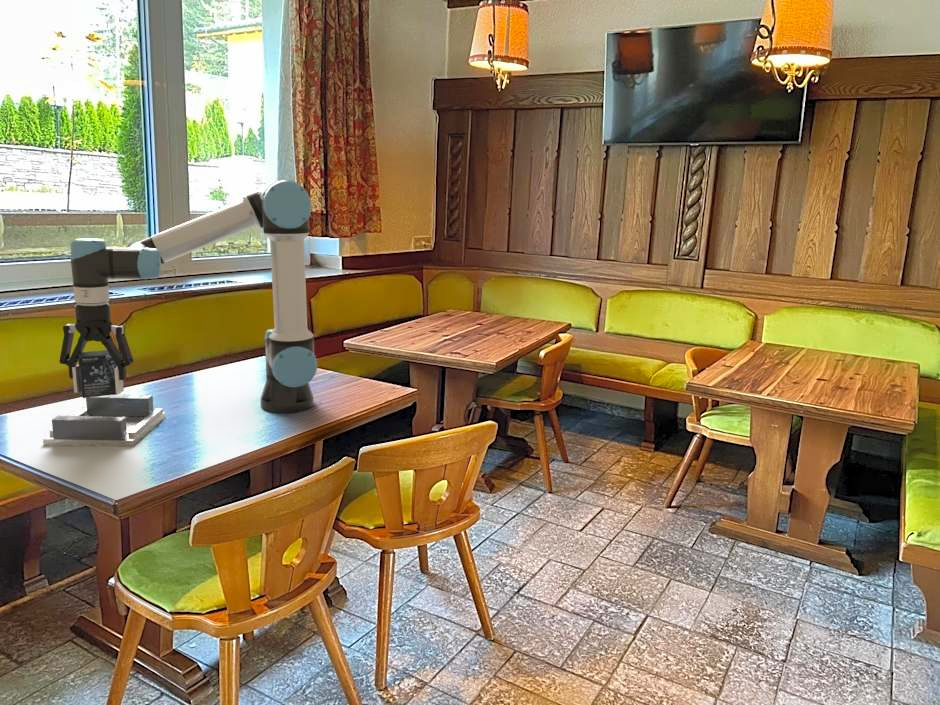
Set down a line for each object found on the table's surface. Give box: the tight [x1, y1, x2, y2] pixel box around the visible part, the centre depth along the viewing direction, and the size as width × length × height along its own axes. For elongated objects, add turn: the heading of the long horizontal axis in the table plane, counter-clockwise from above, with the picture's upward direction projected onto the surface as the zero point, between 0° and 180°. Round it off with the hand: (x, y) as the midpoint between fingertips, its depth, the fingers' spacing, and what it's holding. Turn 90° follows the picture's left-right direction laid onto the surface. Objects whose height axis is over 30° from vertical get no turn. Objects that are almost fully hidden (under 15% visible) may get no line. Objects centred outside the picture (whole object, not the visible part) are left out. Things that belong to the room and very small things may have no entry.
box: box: [77, 349, 117, 399], centre depth 174 cm, size 8×6×11 cm
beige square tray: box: [42, 406, 166, 447], centre depth 180 cm, size 21×22×6 cm
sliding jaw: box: [85, 394, 155, 416], centre depth 187 cm, size 16×3×5 cm, turn 94°
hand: (99, 391), depth 175 cm, fingers closed on box, 9 cm apart
